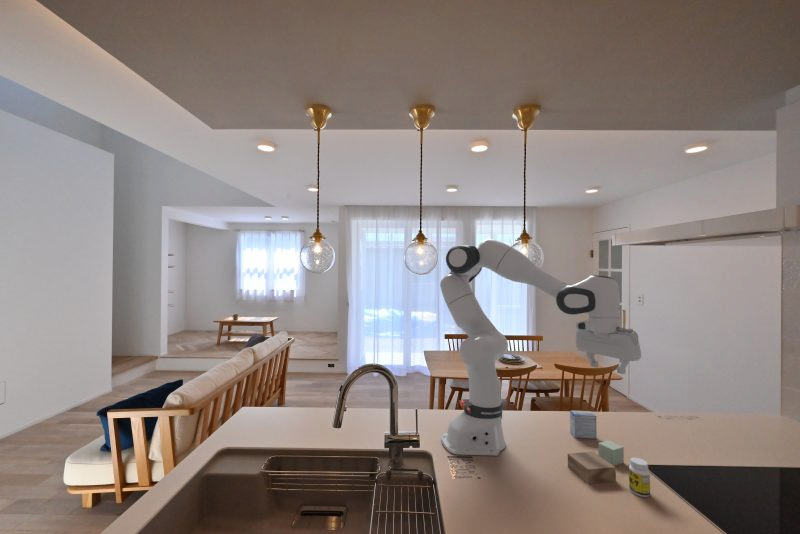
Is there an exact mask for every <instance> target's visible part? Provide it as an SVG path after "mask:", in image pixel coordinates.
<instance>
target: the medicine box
mask: <svg viewBox="0 0 800 534" xmlns="http://www.w3.org/2000/svg"><path fill="white" fill-rule="evenodd" d="M597 420H598V419H597V415H596V414H595V413H594V412H592V411H591V410H590V411H589V410H569V423H570V425H569V429H570V430H569V433H570V434H571V435H572V436H573V438H574V439H591V440H592V439H593V440H595V439H596V440H597V437H598V432H597V427H598V426H597Z"/></svg>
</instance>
